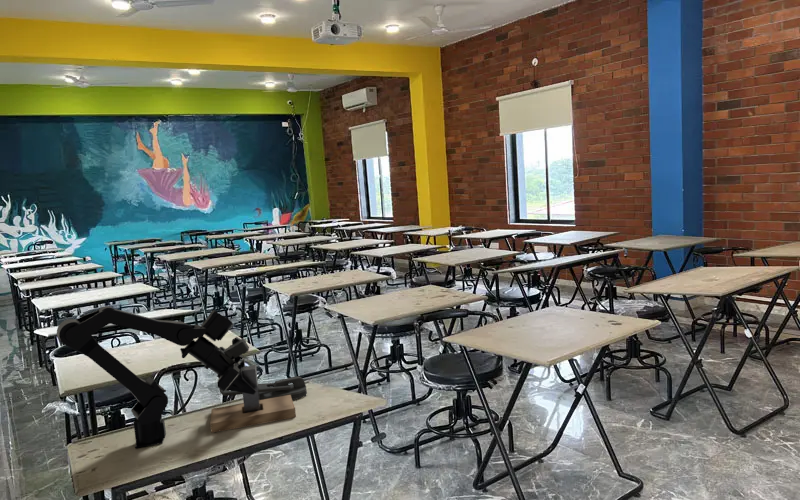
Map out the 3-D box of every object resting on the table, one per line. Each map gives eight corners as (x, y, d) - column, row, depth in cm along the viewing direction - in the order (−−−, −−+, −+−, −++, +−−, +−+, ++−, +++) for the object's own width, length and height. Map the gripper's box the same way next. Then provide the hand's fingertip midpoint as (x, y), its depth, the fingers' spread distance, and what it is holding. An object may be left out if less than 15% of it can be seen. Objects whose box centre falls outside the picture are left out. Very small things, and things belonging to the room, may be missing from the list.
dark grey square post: (245, 421, 154) (240, 371, 153) (246, 415, 158) (241, 367, 157) (260, 418, 155) (255, 368, 154) (261, 413, 159) (255, 365, 158)
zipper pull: (217, 385, 167) (299, 368, 178) (220, 407, 168) (302, 388, 178) (221, 393, 159) (307, 375, 170) (224, 416, 160) (310, 396, 170)
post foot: (211, 432, 148) (210, 423, 148) (212, 417, 159) (211, 408, 159) (295, 416, 154) (294, 408, 154) (291, 403, 165) (290, 394, 165)
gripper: (225, 338, 145) (274, 374, 148) (231, 324, 163) (274, 356, 166) (196, 373, 144) (246, 408, 147) (206, 355, 162) (250, 386, 165)
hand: (255, 388), depth 156 cm, fingers open, 8 cm apart
